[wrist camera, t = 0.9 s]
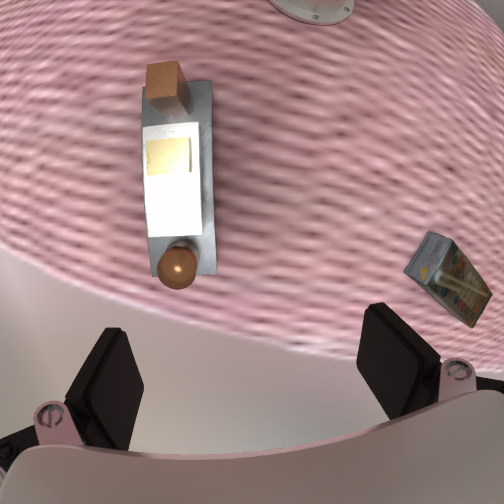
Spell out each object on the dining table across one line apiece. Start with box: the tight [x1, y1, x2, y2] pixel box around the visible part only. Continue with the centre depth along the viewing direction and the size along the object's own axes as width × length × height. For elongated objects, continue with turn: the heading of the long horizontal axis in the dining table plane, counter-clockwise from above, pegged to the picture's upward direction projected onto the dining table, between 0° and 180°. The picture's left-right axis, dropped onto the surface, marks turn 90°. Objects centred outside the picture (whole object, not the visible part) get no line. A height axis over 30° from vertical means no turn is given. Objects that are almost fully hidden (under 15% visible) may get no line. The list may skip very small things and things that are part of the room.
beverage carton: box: [404, 232, 492, 328], centre depth 35 cm, size 8×19×7 cm, turn 57°
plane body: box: [142, 61, 218, 290], centre depth 25 cm, size 20×7×12 cm, turn 1°
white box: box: [143, 122, 204, 237], centre depth 24 cm, size 10×5×4 cm, turn 1°
